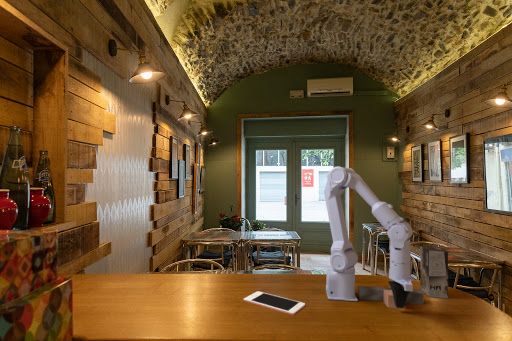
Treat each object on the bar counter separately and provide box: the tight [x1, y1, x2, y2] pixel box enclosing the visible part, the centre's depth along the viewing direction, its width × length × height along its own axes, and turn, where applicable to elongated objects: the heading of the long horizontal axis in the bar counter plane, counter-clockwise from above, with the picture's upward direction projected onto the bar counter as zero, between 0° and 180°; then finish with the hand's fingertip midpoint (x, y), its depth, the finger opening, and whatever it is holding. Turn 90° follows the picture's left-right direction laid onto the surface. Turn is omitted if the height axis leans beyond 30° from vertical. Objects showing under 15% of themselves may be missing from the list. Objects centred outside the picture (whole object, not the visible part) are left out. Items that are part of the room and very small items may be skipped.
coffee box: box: [419, 245, 449, 299], centre depth 109 cm, size 9×6×16 cm
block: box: [382, 290, 406, 310], centre depth 97 cm, size 5×5×4 cm
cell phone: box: [243, 290, 306, 316], centre depth 96 cm, size 9×18×1 cm, turn 57°
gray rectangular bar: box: [357, 285, 424, 305], centre depth 101 cm, size 20×3×4 cm, turn 83°
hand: (399, 307), depth 91 cm, fingers closed
